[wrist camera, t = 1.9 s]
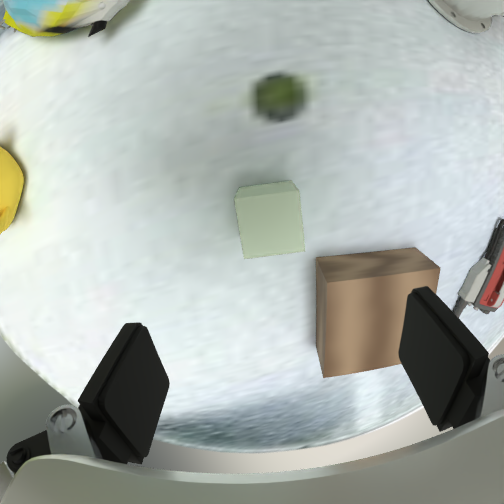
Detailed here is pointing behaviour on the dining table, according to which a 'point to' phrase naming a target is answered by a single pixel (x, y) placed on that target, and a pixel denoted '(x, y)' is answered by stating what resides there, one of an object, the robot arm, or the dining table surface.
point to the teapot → (9, 188)
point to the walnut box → (366, 306)
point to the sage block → (269, 219)
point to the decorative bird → (59, 15)
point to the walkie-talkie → (486, 278)
